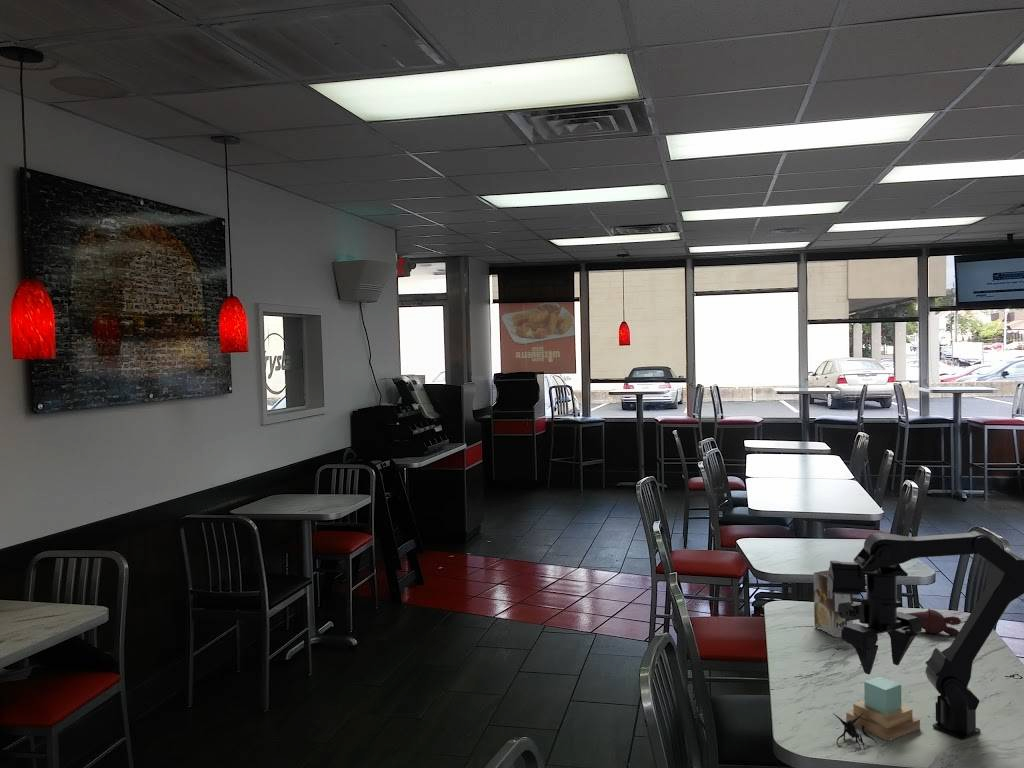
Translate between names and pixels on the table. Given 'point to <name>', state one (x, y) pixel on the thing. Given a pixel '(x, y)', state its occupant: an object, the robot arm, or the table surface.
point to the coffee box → (828, 606)
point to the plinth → (884, 730)
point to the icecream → (937, 622)
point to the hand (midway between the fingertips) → (881, 669)
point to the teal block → (882, 695)
